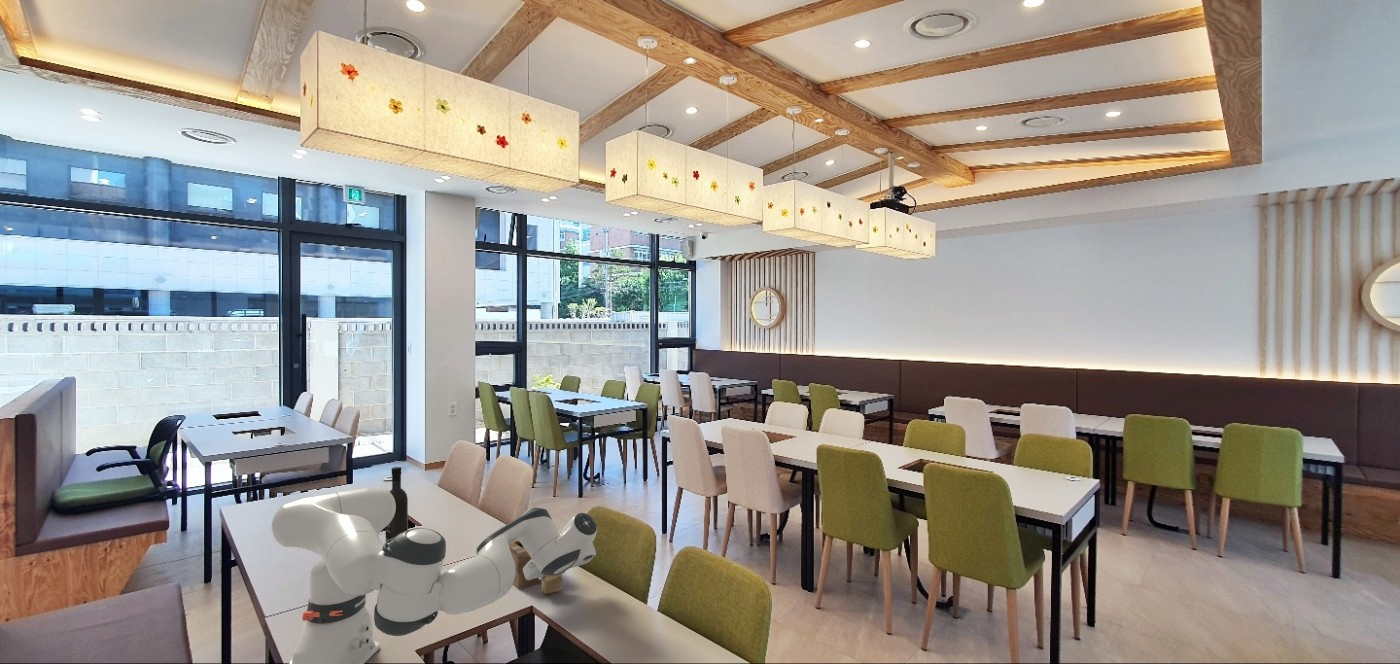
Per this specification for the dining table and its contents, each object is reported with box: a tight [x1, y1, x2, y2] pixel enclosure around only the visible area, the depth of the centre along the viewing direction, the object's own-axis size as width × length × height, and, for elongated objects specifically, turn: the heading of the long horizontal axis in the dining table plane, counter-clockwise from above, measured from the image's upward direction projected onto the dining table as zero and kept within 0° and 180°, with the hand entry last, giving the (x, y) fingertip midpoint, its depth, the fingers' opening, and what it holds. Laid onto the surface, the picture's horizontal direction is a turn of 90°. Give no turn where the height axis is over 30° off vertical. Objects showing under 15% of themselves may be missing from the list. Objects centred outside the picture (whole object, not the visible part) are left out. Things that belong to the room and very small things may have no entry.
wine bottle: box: [384, 466, 409, 542], centre depth 206 cm, size 6×6×30 cm
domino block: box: [541, 573, 563, 595], centre depth 179 cm, size 3×5×8 cm, turn 130°
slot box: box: [509, 539, 542, 590], centre depth 190 cm, size 13×13×11 cm
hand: (550, 574), depth 179 cm, fingers closed on domino block, 5 cm apart
